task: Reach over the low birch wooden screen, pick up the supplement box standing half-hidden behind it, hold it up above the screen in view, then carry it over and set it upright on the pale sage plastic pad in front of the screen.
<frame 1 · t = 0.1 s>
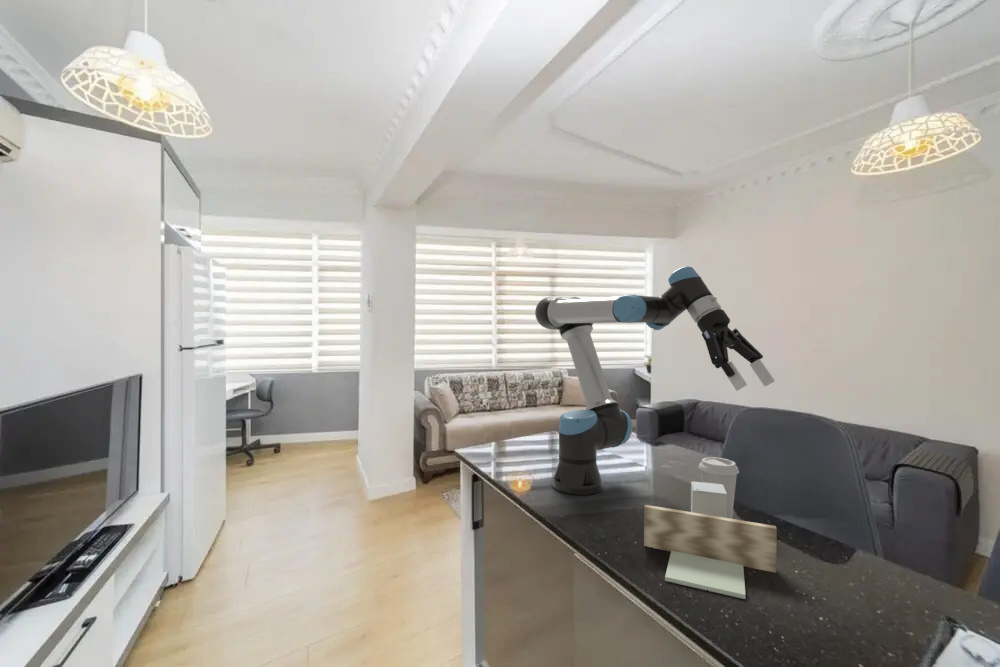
hand: (756, 385, 113), 36 cm above the kitchen island, tool tilted 35°, fingers open, 13 cm apart
supplement box: (707, 541, 109), on the kitchen island
wooden screen: (706, 557, 101), on the kitchen island
sage pad: (705, 574, 93), on the kitchen island
coffee cup: (718, 519, 121), on the kitchen island
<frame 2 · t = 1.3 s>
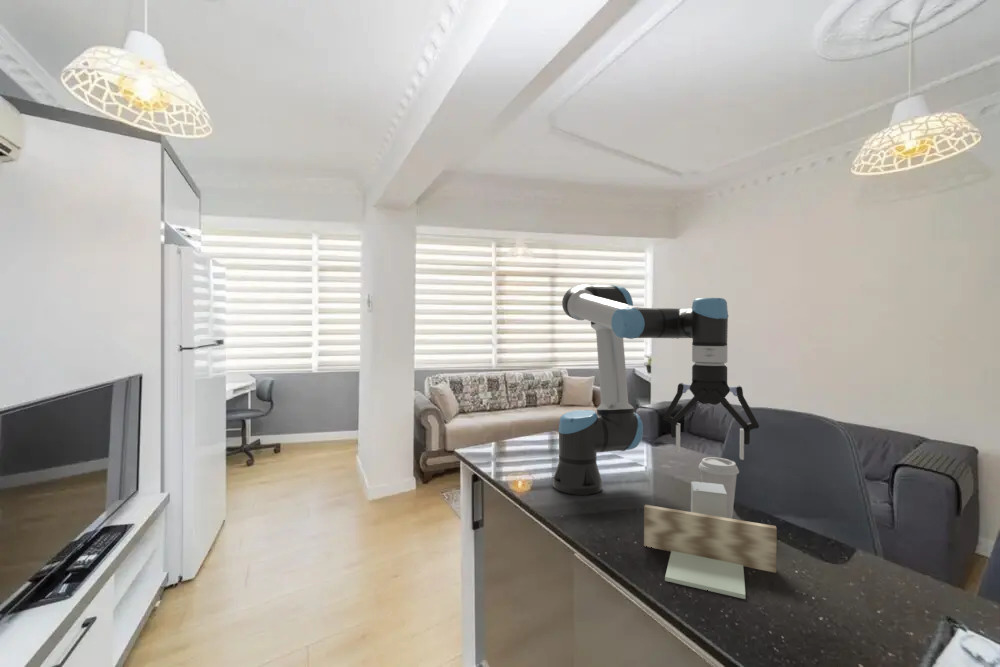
hand: (709, 454, 108), 20 cm above the kitchen island, tool pointing down, fingers open, 13 cm apart
nothing on the kitchen island moved.
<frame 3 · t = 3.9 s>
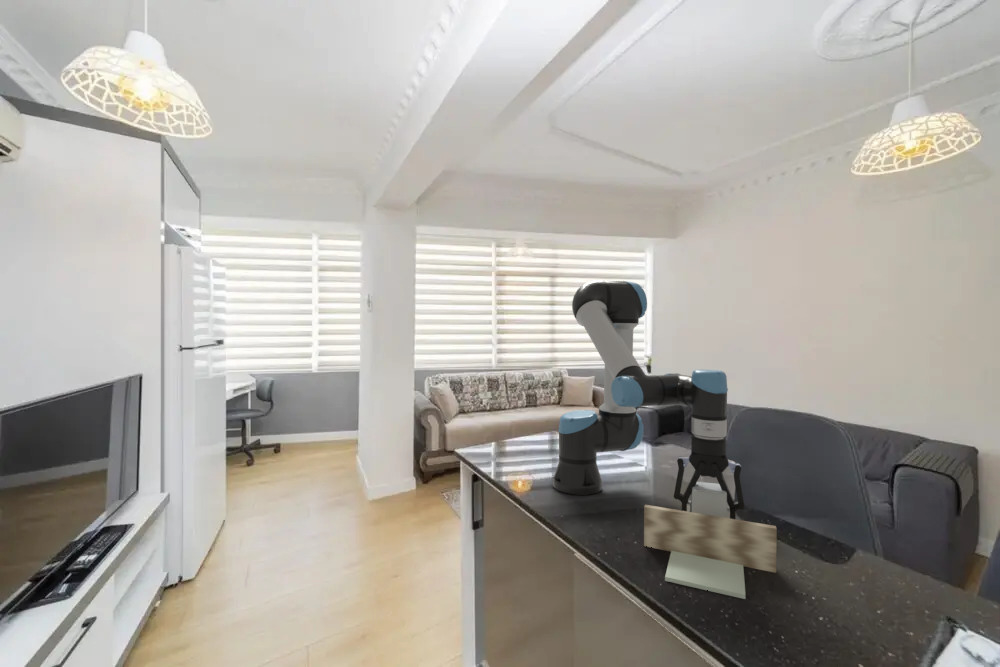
hand: (707, 533, 109), 2 cm above the kitchen island, tool pointing down, fingers closed on supplement box, 8 cm apart
supplement box: (707, 541, 109), on the kitchen island, touching gripper
everything else where it was.
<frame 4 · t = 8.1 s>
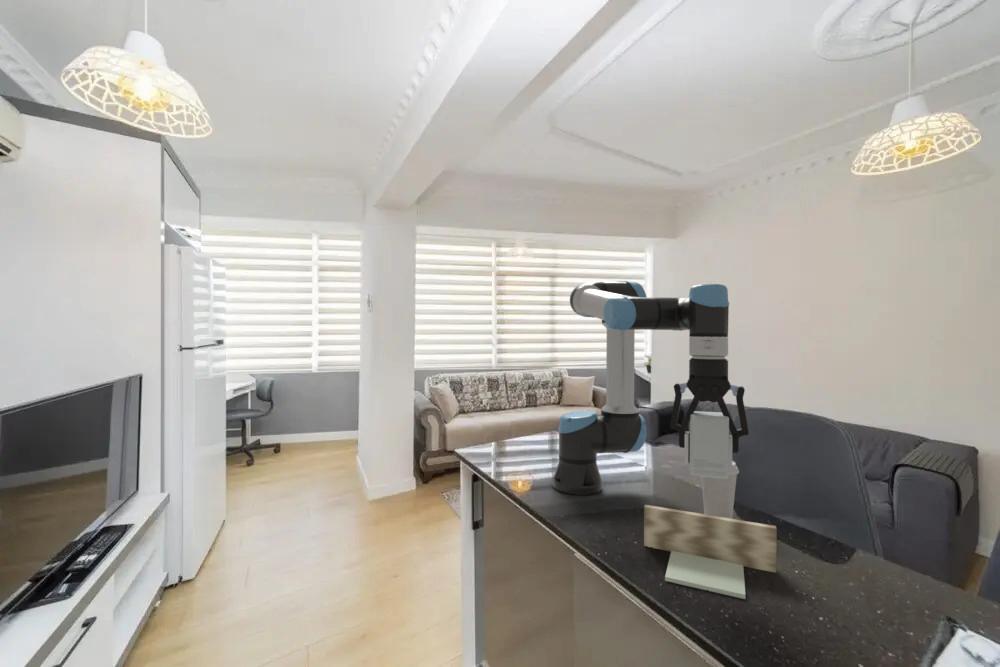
hand: (708, 465, 98), 21 cm above the kitchen island, tool pointing down, fingers closed on supplement box, 8 cm apart
supplement box: (708, 474, 98), point 19 cm above the kitchen island, touching gripper
everything else where it was.
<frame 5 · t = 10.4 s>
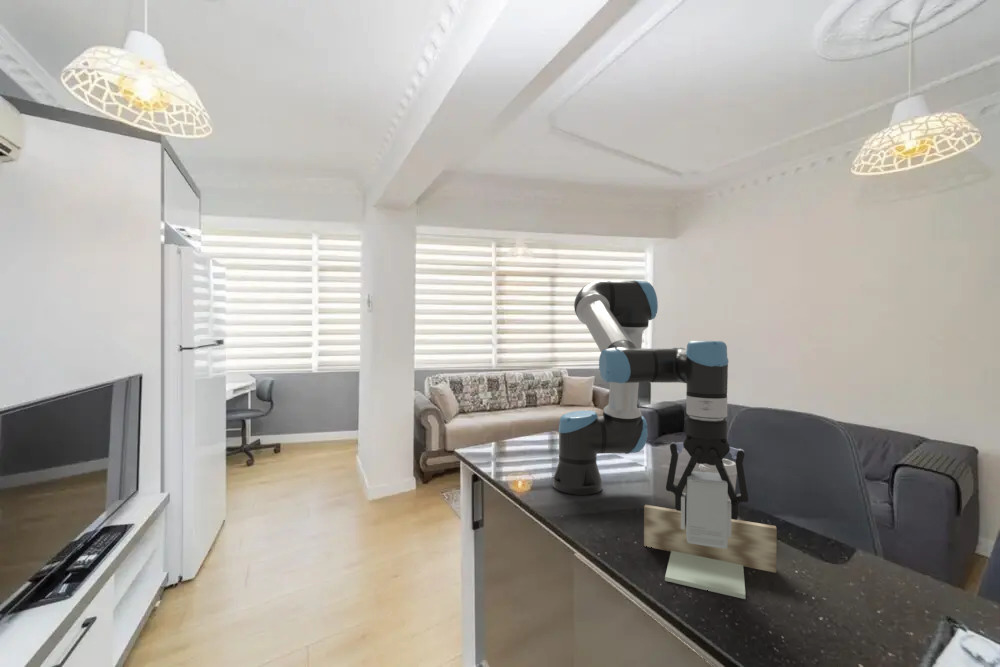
hand: (705, 530, 93), 9 cm above the kitchen island, tool pointing down, fingers closed on supplement box, 8 cm apart
supplement box: (705, 539, 93), point 7 cm above the kitchen island, touching gripper
everything else where it was.
when the fingers open (4 cm above the kitchen island, at t = 12.2 s): supplement box drops 2 cm, resting on sage pad.
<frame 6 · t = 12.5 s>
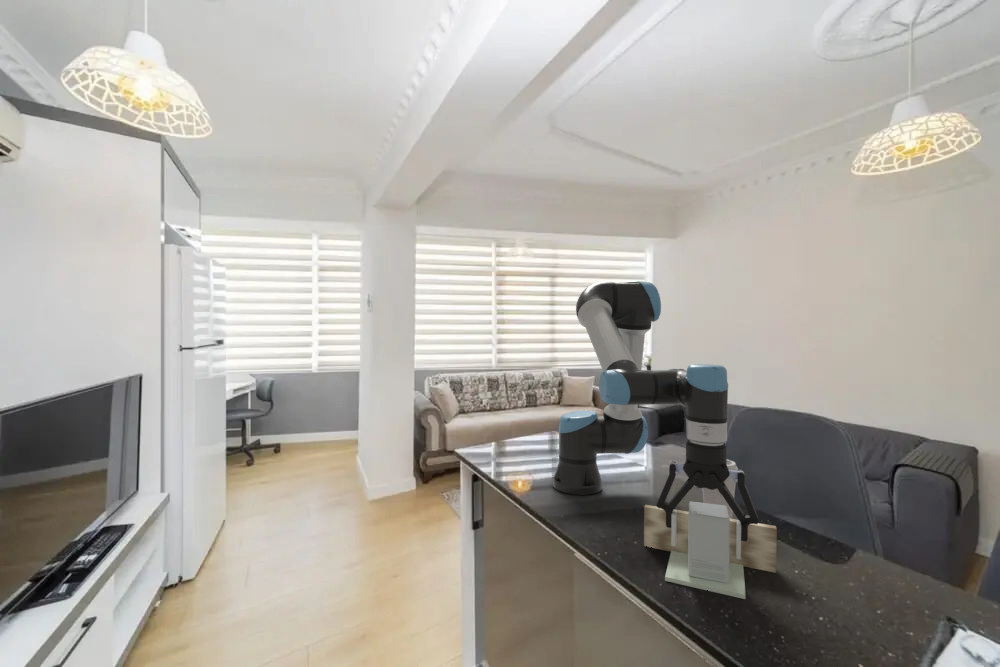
hand: (705, 549, 93), 5 cm above the kitchen island, tool pointing down, fingers open, 11 cm apart
supplement box: (707, 572, 93), point 1 cm above the kitchen island, touching sage pad
everything else where it was.
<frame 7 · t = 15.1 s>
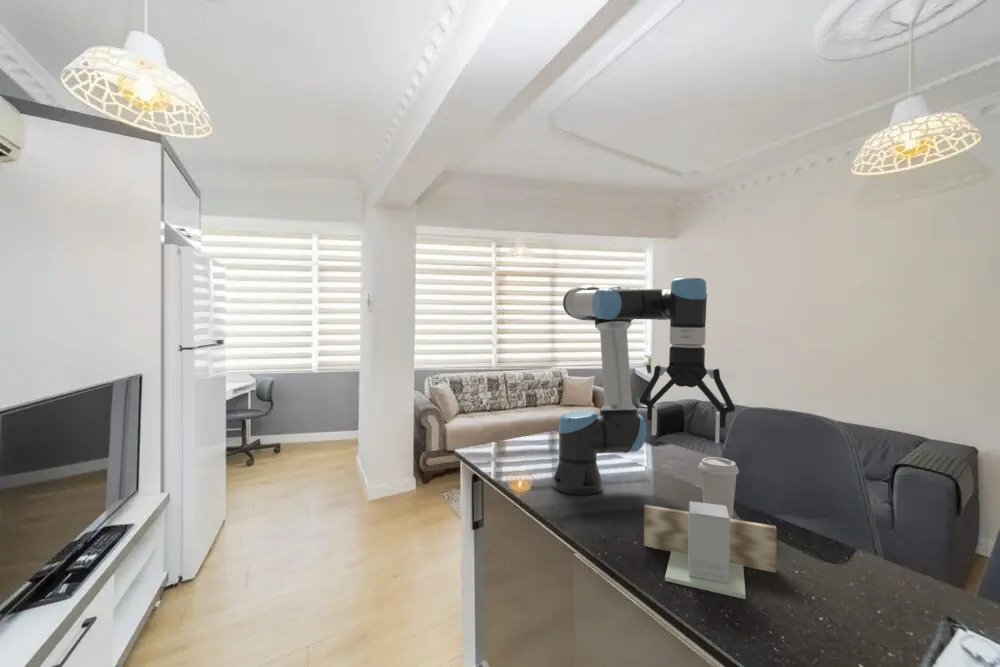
hand: (684, 437, 107), 24 cm above the kitchen island, tool pointing down, fingers open, 13 cm apart
nothing on the kitchen island moved.
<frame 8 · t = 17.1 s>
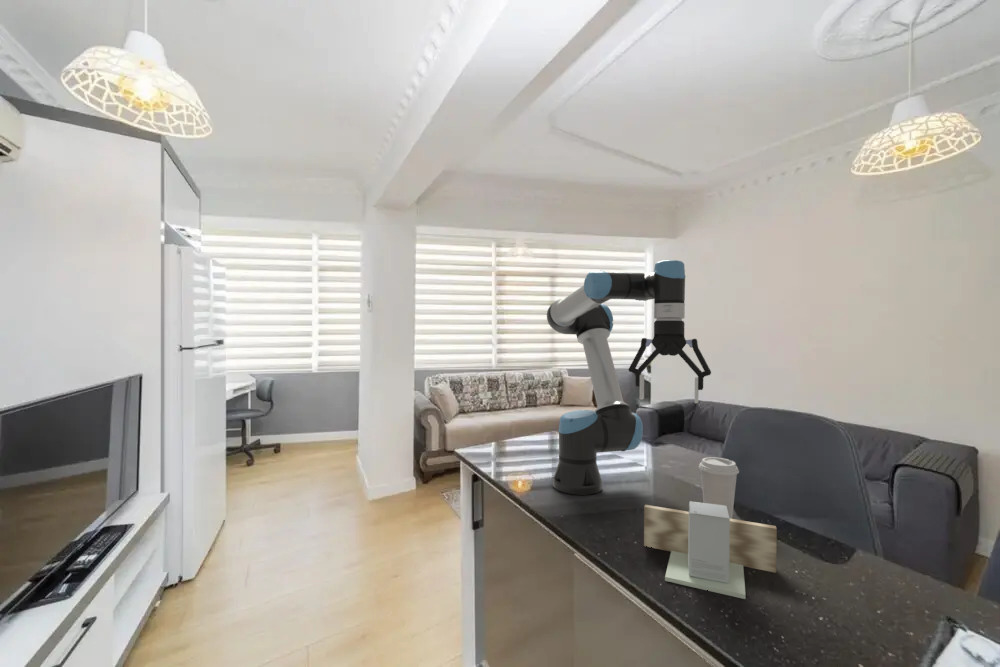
hand: (668, 400, 122), 31 cm above the kitchen island, tool pointing down, fingers open, 13 cm apart
nothing on the kitchen island moved.
at the end: supplement box inside the target area on the sage pad (0.5 cm from its centre), point 0.6 cm above the sage pad's base; supplement box tilted 0°; the gripper is holding nothing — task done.
